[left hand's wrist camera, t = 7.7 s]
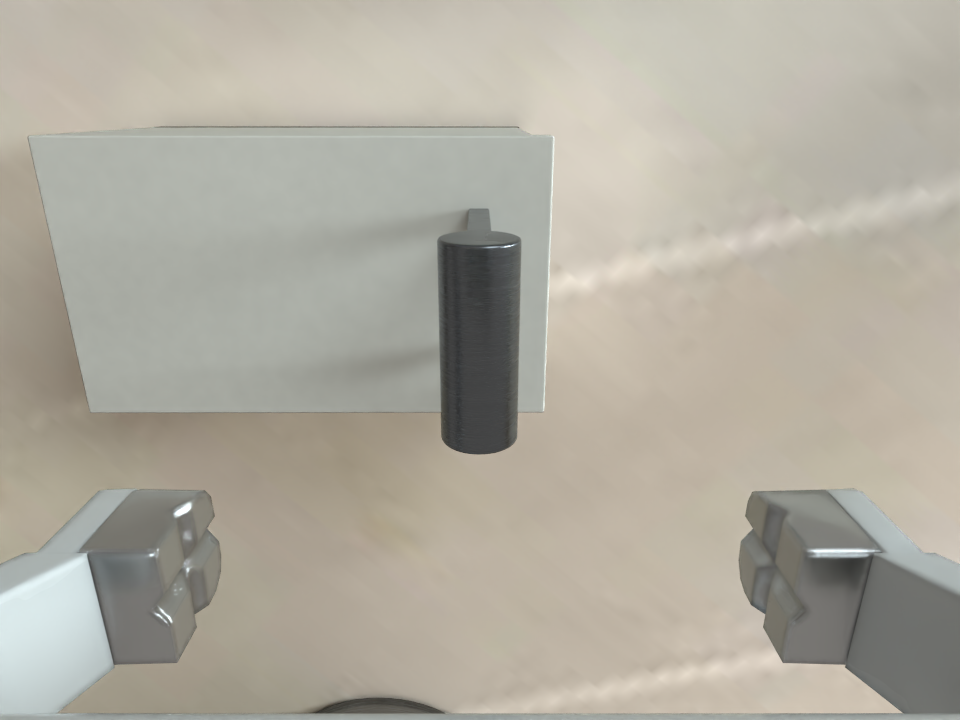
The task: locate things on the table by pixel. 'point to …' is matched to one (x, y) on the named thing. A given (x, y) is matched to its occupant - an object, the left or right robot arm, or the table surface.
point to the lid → (307, 273)
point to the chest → (310, 131)
